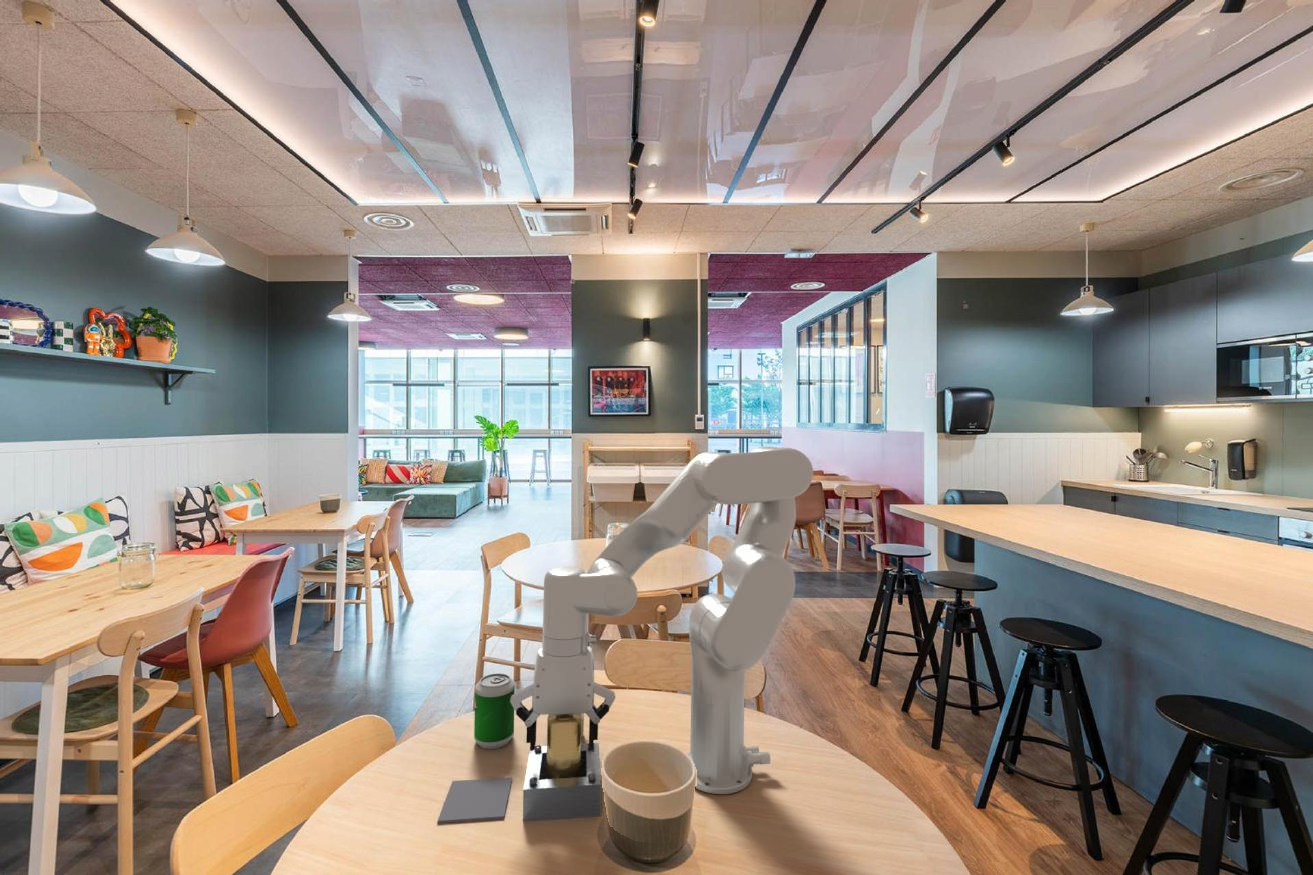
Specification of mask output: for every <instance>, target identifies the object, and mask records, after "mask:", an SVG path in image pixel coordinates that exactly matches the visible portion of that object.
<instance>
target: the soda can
mask: <svg viewBox="0 0 1313 875" xmlns="http://www.w3.org/2000/svg"><path fill="white" fill-rule="evenodd" d="M515 686H516V685H515V680H514V679H513V678H512V677H511V676H510V675H508V674H505V673H500V672H499V673H491V674H488V675H485V676H483V677H481V678H480V679H479V681H478V682H477V683H476V684H475V688H474V720H473V721H474V722H473V723H474V727H473V728H474V729H473V730H474V731H473V739H474V741H475V743H476V744H478V746H480V747H481V748H483V749H486V750H495V749H499V748H502V747H504V746H506V745H507V744H508V743H509V742H510V740H511V739H512V738H513V736H514V735H515V710H514V708H513V706H512V704H511V702H510V699H511V696H512V695H513V694H515V693H516V692H515V688H516V687H515Z"/></svg>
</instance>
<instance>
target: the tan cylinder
mask: <svg viewBox="0 0 1313 875" xmlns="http://www.w3.org/2000/svg"><path fill="white" fill-rule="evenodd" d="M546 719H547V727H546V728H547V729H546V730H547V731H546V736H547V737H546V739H547V740H546V746H547V779H561V778H576V777H580V772H581V744H582V737H581V714H562V715H547V718H546Z"/></svg>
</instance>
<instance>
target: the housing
mask: <svg viewBox="0 0 1313 875" xmlns="http://www.w3.org/2000/svg"><path fill="white" fill-rule="evenodd" d="M600 762H601V759H600V743H599V742H594V745H593V748H590V747H589V742H586V743H581V772H580V777H576V778H561V779H547V745H540V744H539V745H535V750H533V751H530V750H529V754H528V760H527V766H526V773H525V779H524V783H523V788H522V789H523V791H522V793H523V794H522V795H523V796H522V806H523V807H522V822H535V821H536V822H537V821H549V820H550V821H551V820H563V819H575V818H577V819H578V818H589V817H590V818H591V817H600V816H601V810H602V809H601V806H602V805H601V801H602V800H601V799H602V797H601V796H602V795H601V794H602V793H601V792H602V791H601V790H602V781H601V779H602V778H601V763H600Z"/></svg>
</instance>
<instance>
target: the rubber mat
mask: <svg viewBox="0 0 1313 875" xmlns="http://www.w3.org/2000/svg"><path fill="white" fill-rule="evenodd" d="M512 781H513V776H510V777H508V776H507V777H495V778H493V777H491V778H481V779H480V778H477V779H476V778H475V779H461V780H452V781H451V784H450V786H449V790H448V791H447V792H448V793H447V795H446V797H445V800H444V802H443V806H442V807H441V809H440V810H441V811H440V813H439V816H438V818H437V822H436V823H437V824H448V823H449V824H450V823H451V824H452V823H462V822H474V821H475V822H478V821H488V820H489V821H492V820H500V819H501V820H503V819H505V815H506V811H507V805H508V802H509V796H510V792H511V786H512Z"/></svg>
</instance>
